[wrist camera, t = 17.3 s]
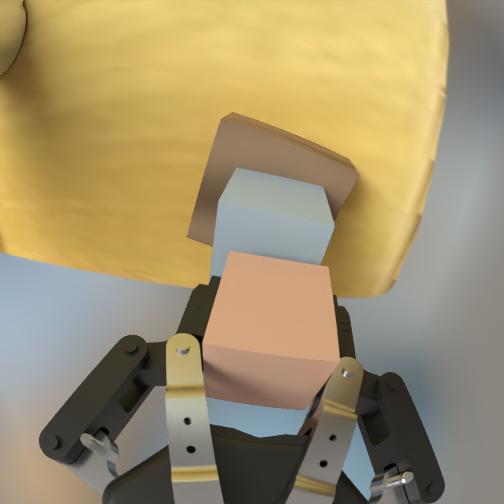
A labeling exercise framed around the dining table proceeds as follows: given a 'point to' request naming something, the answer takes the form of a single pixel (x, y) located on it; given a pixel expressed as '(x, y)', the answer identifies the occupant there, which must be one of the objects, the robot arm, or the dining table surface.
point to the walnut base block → (266, 167)
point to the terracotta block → (270, 333)
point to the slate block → (271, 219)
